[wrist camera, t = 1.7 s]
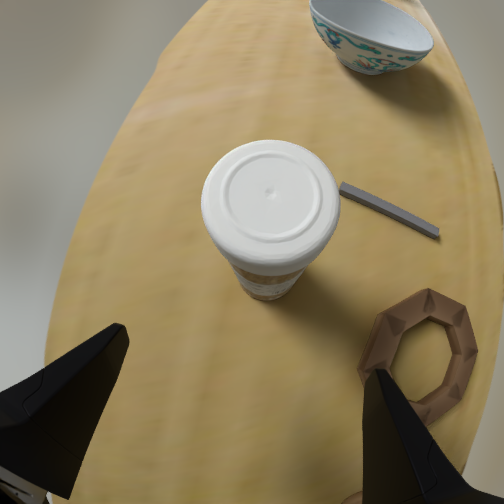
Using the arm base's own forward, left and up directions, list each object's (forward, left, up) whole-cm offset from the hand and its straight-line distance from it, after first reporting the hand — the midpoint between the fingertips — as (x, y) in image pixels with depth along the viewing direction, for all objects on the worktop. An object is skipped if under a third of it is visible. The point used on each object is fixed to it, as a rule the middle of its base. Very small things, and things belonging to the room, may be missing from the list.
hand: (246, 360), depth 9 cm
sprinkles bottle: (+5, +1, -12) cm, 13 cm away
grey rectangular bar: (+14, -7, -12) cm, 20 cm away
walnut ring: (+3, -14, -12) cm, 18 cm away
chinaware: (+35, 0, -12) cm, 37 cm away
